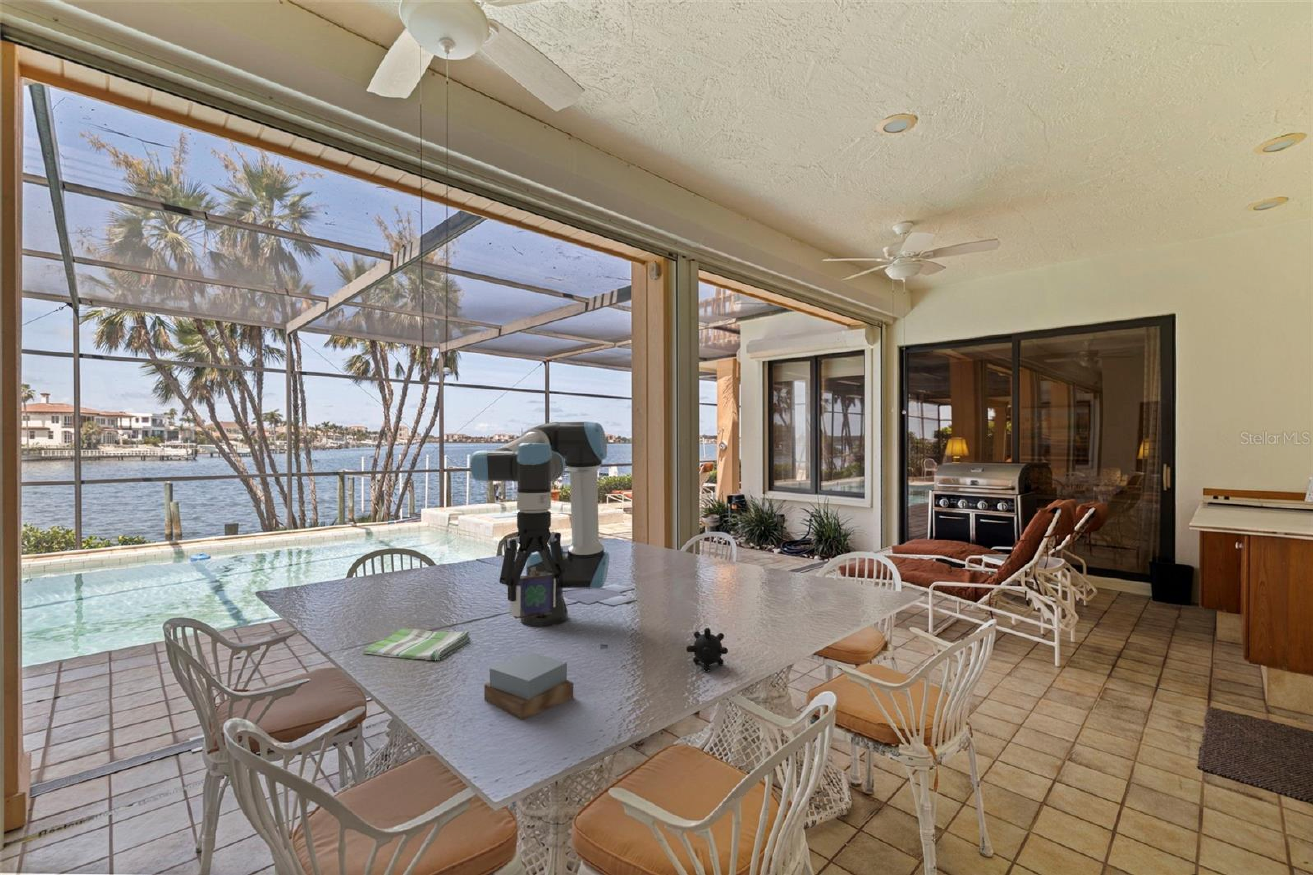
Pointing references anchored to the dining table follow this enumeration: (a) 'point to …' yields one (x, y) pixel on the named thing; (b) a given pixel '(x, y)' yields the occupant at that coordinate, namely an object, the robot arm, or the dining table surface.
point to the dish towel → (420, 644)
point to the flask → (536, 594)
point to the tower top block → (528, 675)
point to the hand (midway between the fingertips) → (533, 610)
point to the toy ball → (707, 648)
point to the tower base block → (528, 707)
